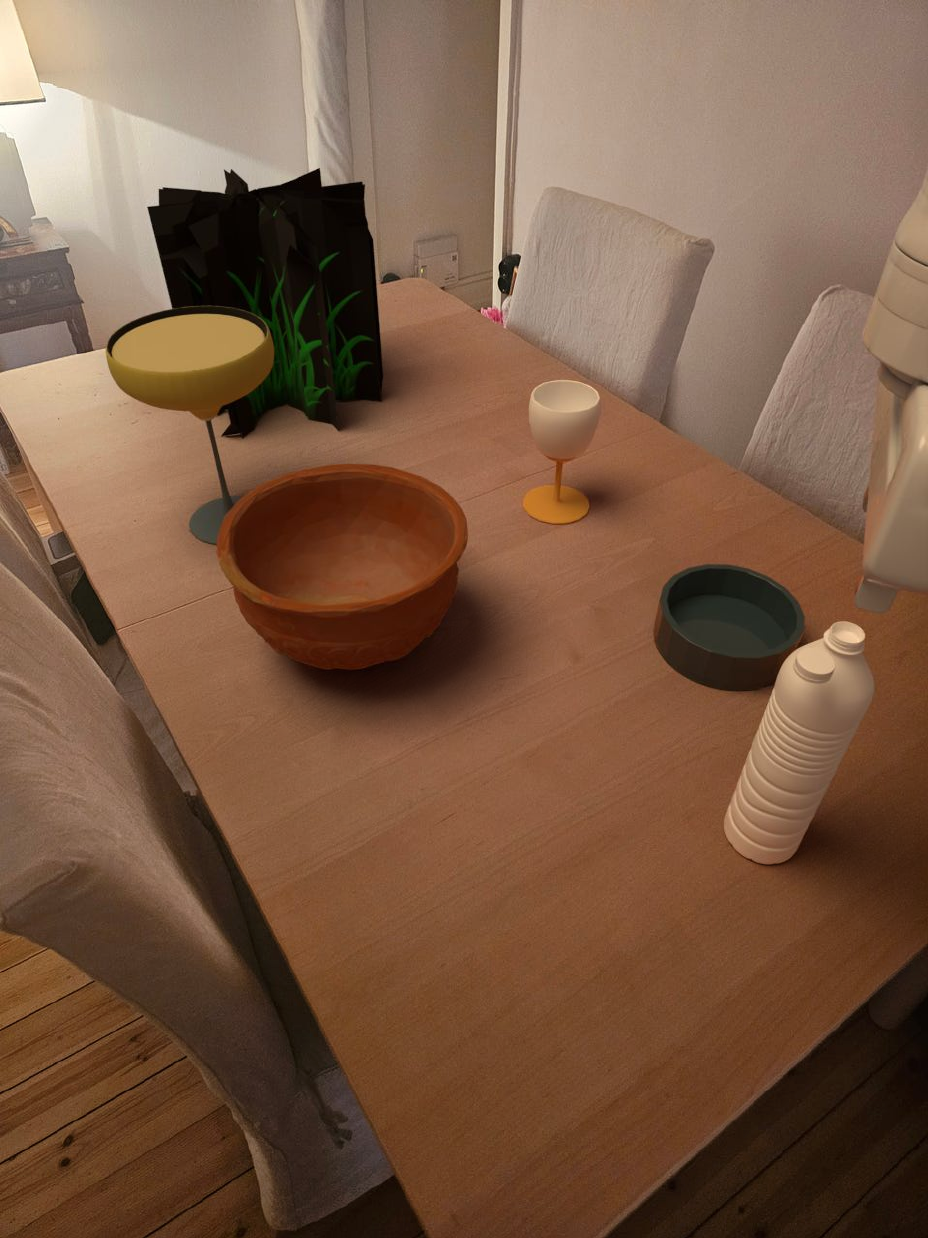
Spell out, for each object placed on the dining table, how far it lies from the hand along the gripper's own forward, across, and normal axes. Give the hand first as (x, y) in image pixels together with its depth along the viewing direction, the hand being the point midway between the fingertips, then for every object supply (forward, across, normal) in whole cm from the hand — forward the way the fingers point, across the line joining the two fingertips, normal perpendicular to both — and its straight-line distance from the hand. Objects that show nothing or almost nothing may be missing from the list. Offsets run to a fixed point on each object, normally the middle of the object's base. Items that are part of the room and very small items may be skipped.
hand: (873, 553), depth 47 cm
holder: (+34, +28, +6) cm, 45 cm away
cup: (+35, +46, +31) cm, 65 cm away
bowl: (+35, +13, +44) cm, 58 cm away
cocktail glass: (+34, +26, +70) cm, 82 cm away
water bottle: (+35, +3, -1) cm, 35 cm away
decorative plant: (+34, +59, +80) cm, 106 cm away
